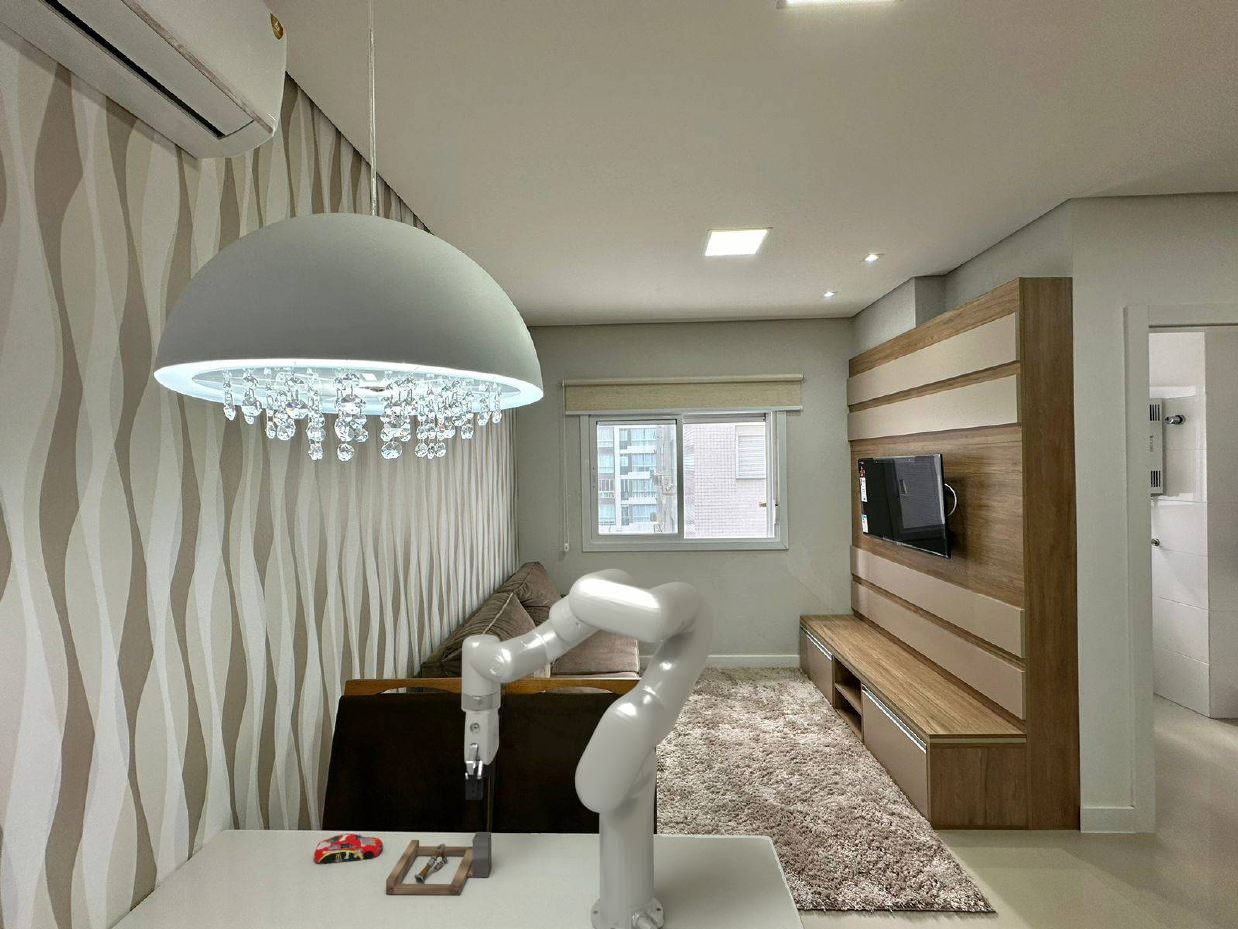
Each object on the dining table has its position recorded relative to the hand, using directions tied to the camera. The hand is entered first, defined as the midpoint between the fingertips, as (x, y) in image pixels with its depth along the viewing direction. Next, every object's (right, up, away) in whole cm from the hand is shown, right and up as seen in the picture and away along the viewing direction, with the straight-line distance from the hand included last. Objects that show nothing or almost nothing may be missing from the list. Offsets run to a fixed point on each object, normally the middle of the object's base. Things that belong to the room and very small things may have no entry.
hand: (480, 787), depth 133 cm
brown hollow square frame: (-7, -16, -1) cm, 18 cm away
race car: (-28, -18, +6) cm, 34 cm away
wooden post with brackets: (-9, -17, -1) cm, 19 cm away
